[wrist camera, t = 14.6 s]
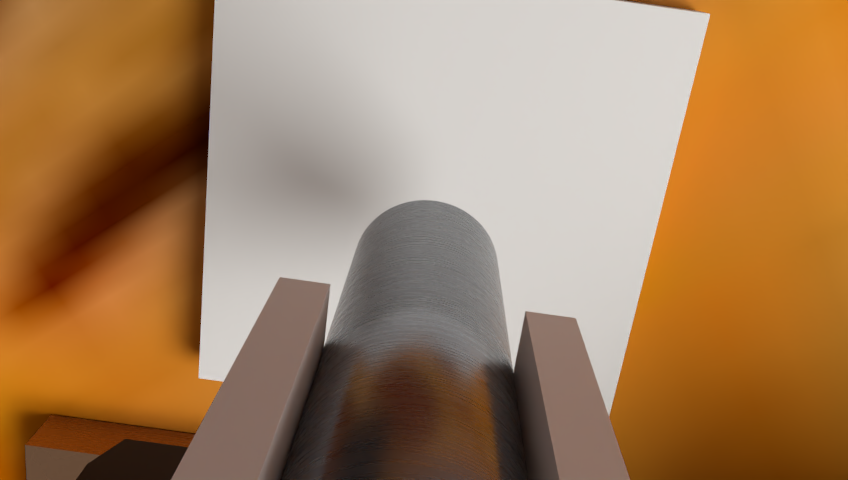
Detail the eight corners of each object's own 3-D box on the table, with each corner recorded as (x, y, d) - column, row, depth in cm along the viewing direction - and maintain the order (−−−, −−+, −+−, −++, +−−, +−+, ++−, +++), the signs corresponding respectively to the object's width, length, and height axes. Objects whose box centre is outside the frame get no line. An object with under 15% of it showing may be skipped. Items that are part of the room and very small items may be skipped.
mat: (229, -57, 18) (217, -58, 17) (697, 10, 19) (710, 14, 18) (209, 359, 22) (198, 378, 21) (598, 413, 22) (604, 433, 21)
